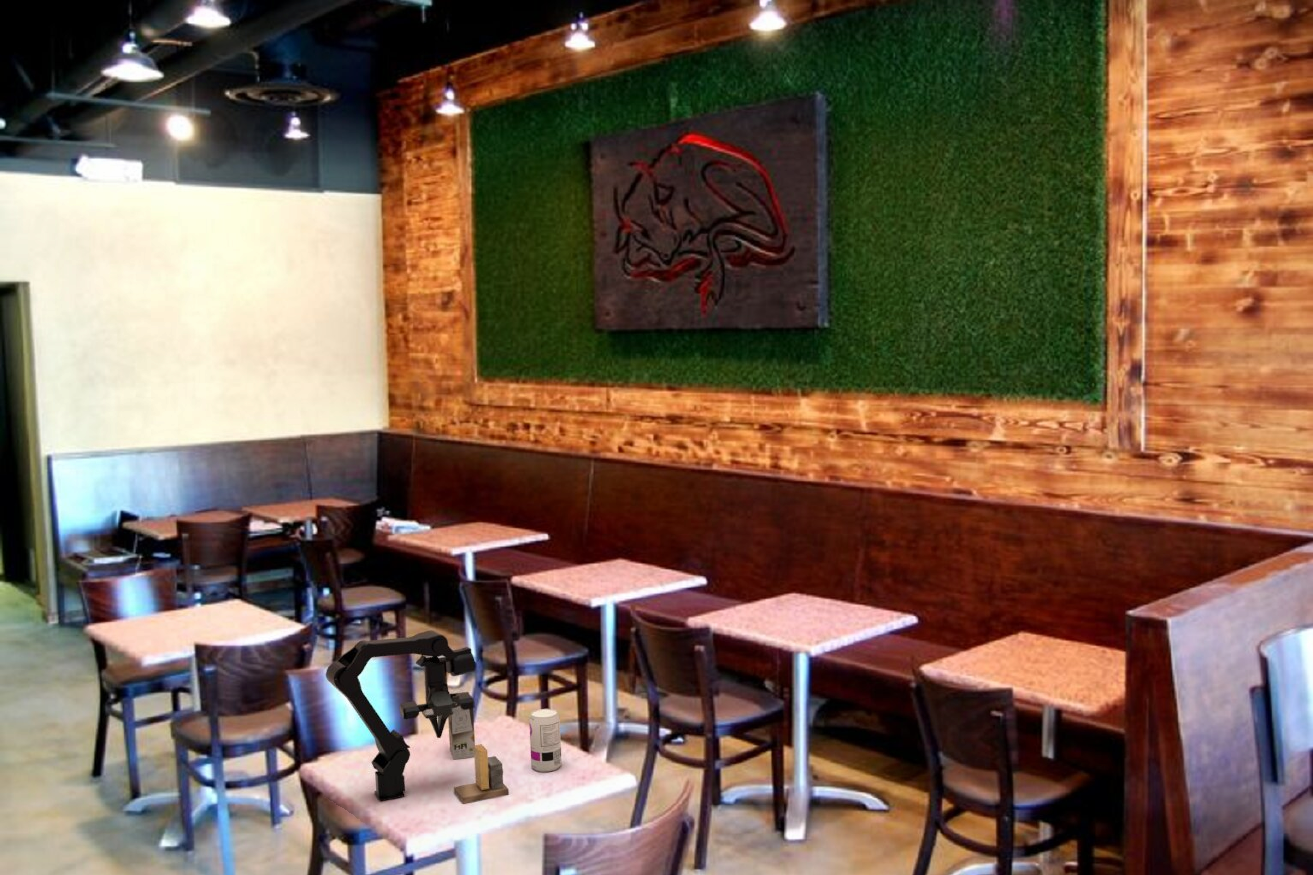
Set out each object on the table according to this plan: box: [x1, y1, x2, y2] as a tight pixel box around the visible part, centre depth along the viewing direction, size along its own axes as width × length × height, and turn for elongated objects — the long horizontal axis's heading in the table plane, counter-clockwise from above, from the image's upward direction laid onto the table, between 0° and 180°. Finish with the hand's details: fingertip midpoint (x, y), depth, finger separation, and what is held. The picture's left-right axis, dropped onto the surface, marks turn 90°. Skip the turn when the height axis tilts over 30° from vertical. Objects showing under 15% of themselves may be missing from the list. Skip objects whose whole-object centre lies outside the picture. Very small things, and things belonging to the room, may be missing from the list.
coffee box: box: [447, 691, 476, 760], centre depth 334 cm, size 9×6×16 cm
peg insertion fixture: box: [453, 755, 510, 804], centre depth 305 cm, size 12×8×8 cm, turn 115°
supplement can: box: [528, 708, 562, 773], centre depth 322 cm, size 8×8×15 cm
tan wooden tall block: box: [474, 744, 490, 790], centre depth 306 cm, size 6×5×10 cm
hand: (438, 737), depth 313 cm, fingers closed
